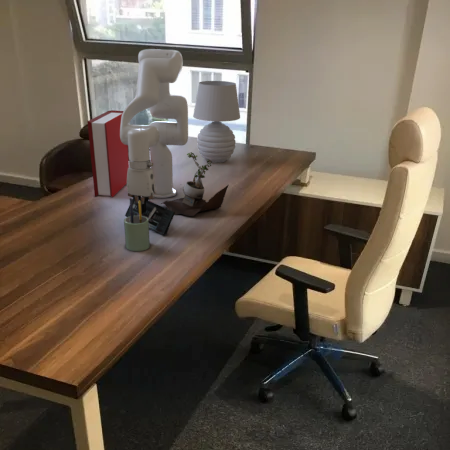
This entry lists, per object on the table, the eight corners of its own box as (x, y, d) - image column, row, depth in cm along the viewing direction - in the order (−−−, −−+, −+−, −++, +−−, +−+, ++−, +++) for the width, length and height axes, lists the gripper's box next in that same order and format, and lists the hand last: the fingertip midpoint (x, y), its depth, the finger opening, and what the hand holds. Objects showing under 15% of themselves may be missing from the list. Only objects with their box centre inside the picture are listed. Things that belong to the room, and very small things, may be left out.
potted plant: (190, 202, 232) (207, 150, 219) (218, 224, 223) (238, 170, 211) (157, 205, 218) (173, 149, 205) (185, 228, 209) (204, 171, 196)
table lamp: (238, 166, 278) (242, 87, 258) (191, 165, 278) (191, 85, 258) (238, 155, 300) (241, 80, 280) (194, 153, 300) (194, 79, 280)
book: (112, 197, 228) (106, 122, 212) (94, 196, 229) (87, 121, 213) (130, 179, 252) (126, 111, 236) (114, 178, 253) (109, 110, 237)
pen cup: (121, 249, 181) (117, 199, 172) (132, 240, 188) (129, 192, 179) (143, 252, 179) (140, 203, 170) (153, 243, 186) (151, 195, 177)
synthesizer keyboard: (176, 212, 191) (153, 202, 185) (167, 236, 192) (143, 228, 187) (154, 202, 209) (132, 193, 203) (145, 225, 210) (123, 216, 204)
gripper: (162, 164, 190) (164, 212, 198) (126, 160, 194) (129, 207, 202) (153, 169, 183) (155, 218, 192) (116, 164, 187) (119, 213, 196)
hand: (142, 212), depth 197 cm, fingers closed
